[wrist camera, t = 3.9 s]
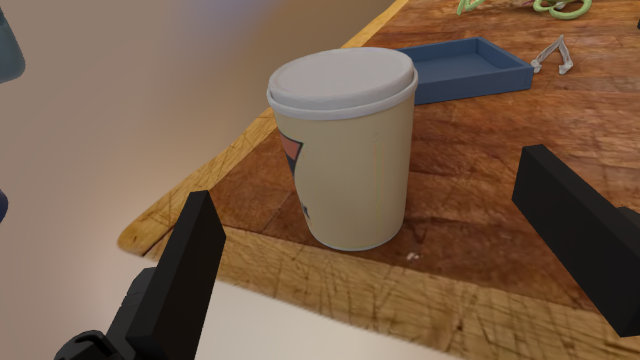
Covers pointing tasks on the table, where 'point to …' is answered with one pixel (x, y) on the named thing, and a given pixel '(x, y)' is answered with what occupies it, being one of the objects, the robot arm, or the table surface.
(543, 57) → the tweezers
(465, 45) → the dish tray
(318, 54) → the coffee cup
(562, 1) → the figurine
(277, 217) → the table surface
